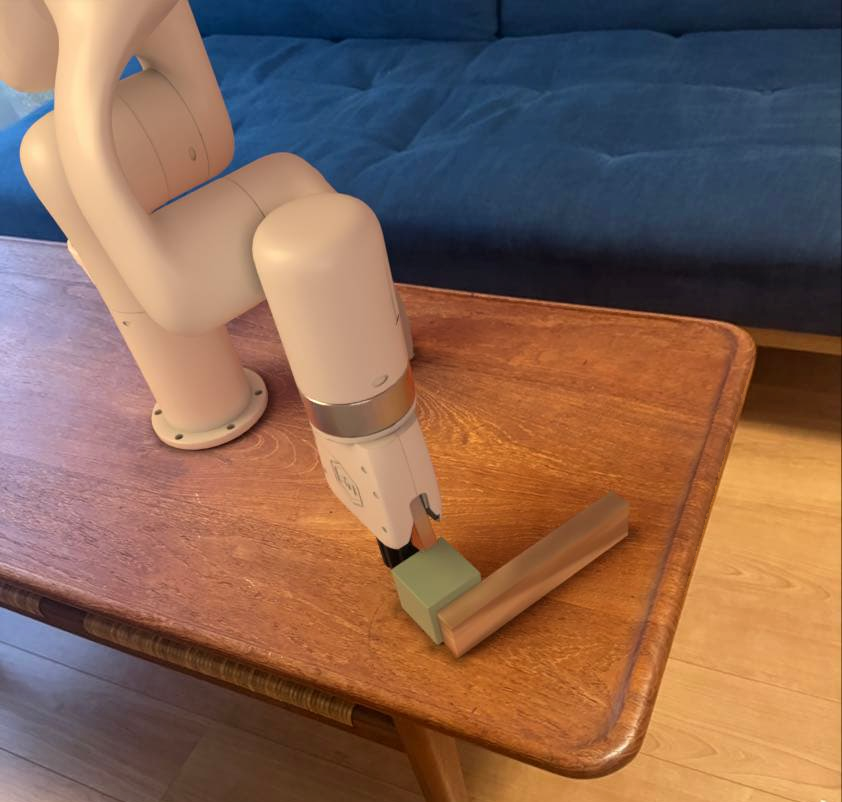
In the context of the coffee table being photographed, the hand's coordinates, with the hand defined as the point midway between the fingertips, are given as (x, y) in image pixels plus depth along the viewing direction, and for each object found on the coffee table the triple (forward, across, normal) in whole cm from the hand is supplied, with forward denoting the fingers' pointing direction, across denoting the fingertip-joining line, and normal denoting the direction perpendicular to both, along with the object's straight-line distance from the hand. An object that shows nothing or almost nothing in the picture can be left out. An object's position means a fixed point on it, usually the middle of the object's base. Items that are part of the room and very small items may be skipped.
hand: (405, 560), depth 68 cm
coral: (+2, -27, +15) cm, 31 cm away
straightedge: (+2, +9, +7) cm, 11 cm away
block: (+2, +5, 0) cm, 5 cm away
